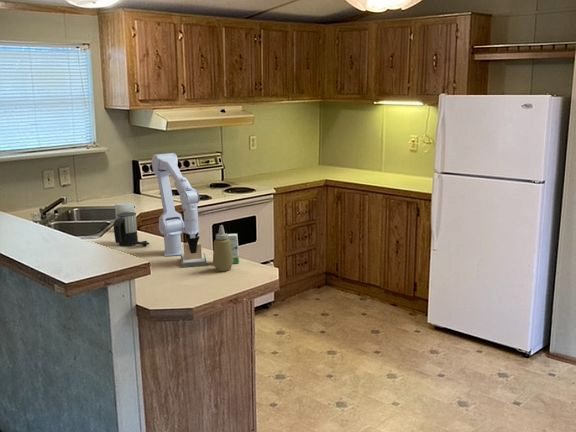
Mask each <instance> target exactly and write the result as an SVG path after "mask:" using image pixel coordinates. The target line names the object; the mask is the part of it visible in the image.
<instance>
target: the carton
mask: <svg viewBox="0 0 576 432" xmlns="http://www.w3.org/2000/svg"><path fill="white" fill-rule="evenodd" d="M202 253H203V252H202V243H201V241H198V243H197V250H196V253H191V252H190V248H189V244H188V242H183V254H184V258H185V260H186V259H199V258H202Z"/></svg>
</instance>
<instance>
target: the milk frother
mask: <svg viewBox="0 0 576 432" xmlns="http://www.w3.org/2000/svg"><path fill="white" fill-rule="evenodd" d="M117 218H118V219H116V218H115V220H114V222H113V233H114V234H113V235H114V240H115V241H114V242H115V243H116V244H118V246H120V247H132V246H136V245H137V246H143V247H147V246H148V245H150V242H148V241H147V240H142V241H139V240H138V239H139V238H138V227H137V226H138V225H137V212H135V211H134V212H124V213H119V214H117Z"/></svg>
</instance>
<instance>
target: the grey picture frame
mask: <svg viewBox="0 0 576 432" xmlns="http://www.w3.org/2000/svg"><path fill="white" fill-rule="evenodd" d="M180 261H181V267H182V269H183V268H194V267H206V266H208V261H207V257H206V253H204V252H202V258H199V259H186V260H185V258H184V253H183V255H180Z"/></svg>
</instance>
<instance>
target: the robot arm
mask: <svg viewBox="0 0 576 432" xmlns="http://www.w3.org/2000/svg"><path fill="white" fill-rule="evenodd" d="M178 160H179V159H178V155H177V153H175V152H170V153H159V154H156V153H154V154H153V156H152V158H151V162H150V163H151V167H152V171H153V174H154V175H156V179H157V184H158V190H159V194H160V199H161V205H162V210H163V213H162V214H161V215H160V216H159V218H158V230H159V232H160V234H161V235H163V242H164V250H163V256H164V257H168V256H169V257H170V256H171V257H172V256H181V255H183V254H184V250H183V248H182V237H181V234H183V233H184V236H185V240H186V241H187V242H186V243H188V244H189V248H190V252H191V253H196V250H197V243H198V242H199V240H200V236H199V232H200V228H199V211H198V204H199V203H200V194H199V191H198V189H195V188H193V187H192V185H191V184H190V182H189V180H188V178H187V177H185V176H183V175H182V173H181V170H180V168H179V166H178V164H179V163H178V162H179V161H178ZM170 176H171V178H172V179H173V180H174V187H175V189H176V190H177V192H178V194H179V201H180V204H181V209H182V210H183V216H182V214H181V213H180V212H178V211H176V207H175V203H174V197H173V191H172V186H171V182H170V181H171V180H170Z"/></svg>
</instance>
